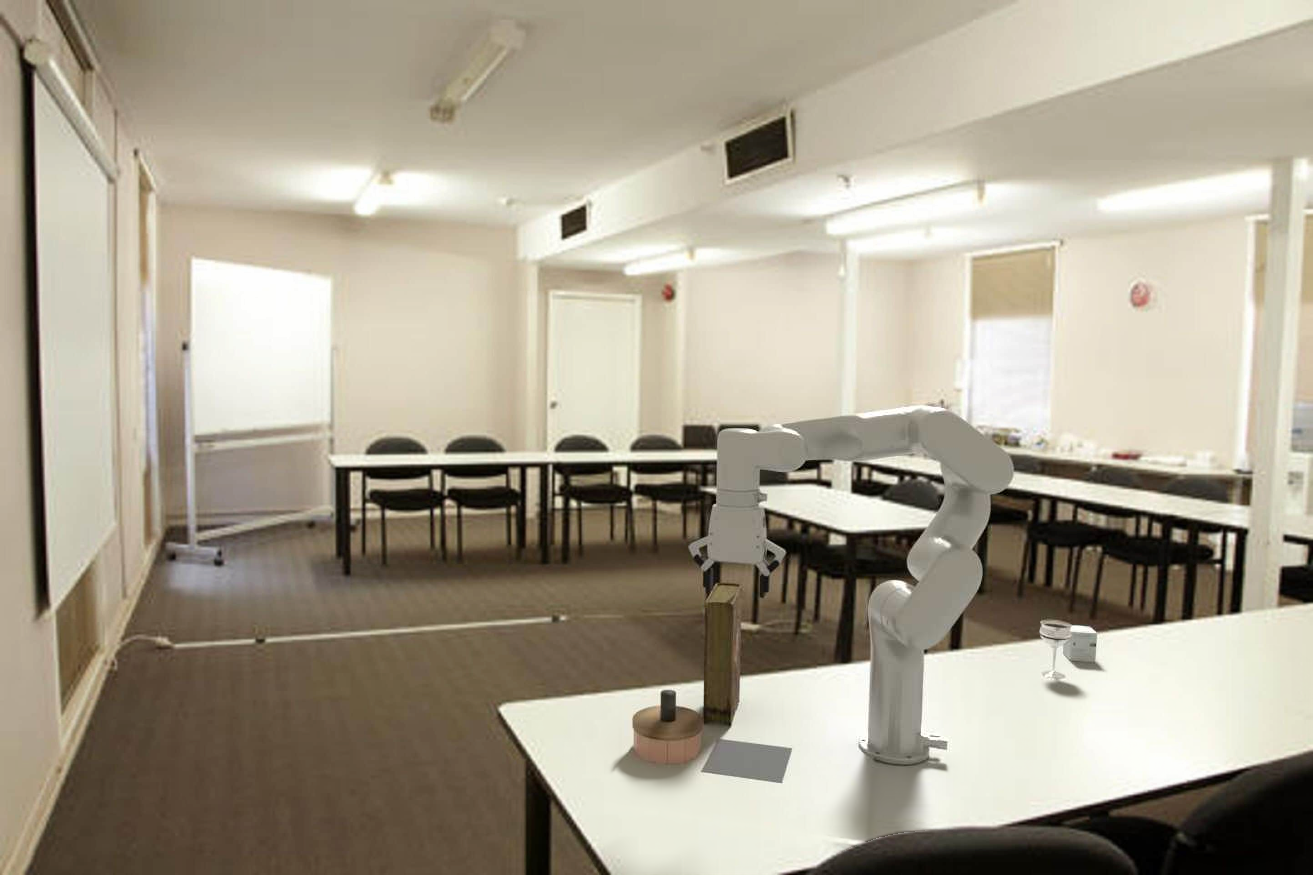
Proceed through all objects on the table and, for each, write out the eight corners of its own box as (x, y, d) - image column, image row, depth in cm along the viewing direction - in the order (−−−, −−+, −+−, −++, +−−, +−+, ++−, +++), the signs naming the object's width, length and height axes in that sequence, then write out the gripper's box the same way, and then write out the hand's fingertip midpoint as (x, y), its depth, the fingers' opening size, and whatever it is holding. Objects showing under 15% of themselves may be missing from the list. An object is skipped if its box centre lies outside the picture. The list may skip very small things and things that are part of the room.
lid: (710, 715, 167) (710, 683, 166) (694, 744, 154) (695, 709, 154) (643, 708, 170) (644, 676, 170) (623, 735, 158) (623, 701, 157)
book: (714, 696, 190) (716, 581, 188) (740, 698, 189) (742, 583, 187) (703, 727, 174) (705, 602, 172) (730, 729, 173) (733, 604, 171)
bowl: (706, 742, 167) (706, 716, 166) (691, 770, 155) (691, 742, 155) (645, 734, 170) (645, 709, 170) (626, 761, 159) (626, 734, 158)
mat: (792, 751, 164) (792, 748, 164) (781, 785, 150) (781, 782, 150) (717, 741, 167) (717, 738, 167) (701, 774, 154) (701, 771, 154)
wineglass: (1074, 679, 202) (1077, 628, 201) (1044, 679, 202) (1047, 628, 201) (1061, 669, 209) (1064, 619, 208) (1032, 669, 209) (1035, 619, 208)
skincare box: (1069, 660, 216) (1071, 631, 215) (1062, 652, 222) (1063, 624, 221) (1096, 662, 215) (1097, 632, 214) (1088, 654, 221) (1089, 625, 220)
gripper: (789, 498, 158) (787, 592, 159) (694, 493, 162) (693, 585, 164) (783, 504, 150) (781, 603, 152) (684, 499, 155) (683, 595, 157)
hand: (735, 593), depth 158 cm, fingers open, 9 cm apart
